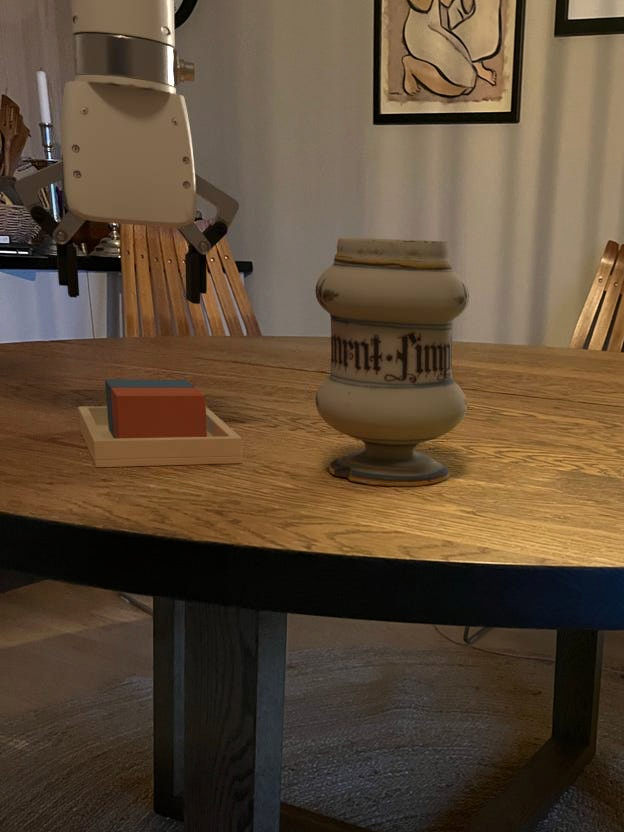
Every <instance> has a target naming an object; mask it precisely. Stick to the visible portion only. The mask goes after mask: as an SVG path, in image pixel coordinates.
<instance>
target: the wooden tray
mask: <svg viewBox="0 0 624 832" xmlns="http://www.w3.org/2000/svg"><path fill="white" fill-rule="evenodd" d="M77 410H78V423H79V431H80V434H81V435H82V437H83V438H82V439H83V441H84V442H85V445H86V448H87V450H88V452H89V454H90V457H91V459H92V462H93V465H94V466H95V468H122V467H123V468H125V467H126V468H127V467H158V466H159V467H161V466H198V465H200V466H201V465H233V464H236V465H237V464H243V438H242V437H241V436H240V435H239V434H237V433H236V432H235V431H234V430H233V429H232V428H231V427H229V425H227V423H225V422H224V421H223V420H222V419H221V418H220V417H218V415H216V414H215V413H214V412H213V411H212V410H211V409H210V408H209V407H208V406H206V425H207V437H172V438H116V439H114V438H113V436H112V434H111V432H110V431H109V427H108V413H107V405H102V406H101V405H100V406H97V405H96V406H95V405H94V406H93V405H92V406H89V405H88V406H83V405H82V406H81V405H80V406H78V407H77Z"/></svg>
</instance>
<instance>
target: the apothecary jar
mask: <svg viewBox="0 0 624 832" xmlns="http://www.w3.org/2000/svg"><path fill="white" fill-rule="evenodd" d="M333 258H334V259H333V264H331V266H329V267H328V268H327V269H325V270H324V271H323V272H322V273H321V275H320V276H319V277H318V279H317V281H316V285H315V298H316V300H317V302H318V304H319V305H320V307H321V308H322V309H323V310H324V311H326V312H327V313H328V314H329V316H330V373H329V376H328V377H327V378H326V379H325V380H324V381H322V383H320V385H319V387H318V389H317V391H316V394H315V407H316V410H317V412H318V414H319V416H320V418H322V420H323V421H324V422H325V423H326V424H327V425H328V426H329V427H331V428H332V429H334V430H336V431H337V432H339V433H341V434H343V435H346V436H348V437H351V438H354V439H356V440H359V441H361V442H363V444H364V449H361V450H360V449H359V450H356V451H353V452H349V453H348V454H346V455H343V456H339V457H338V458H334V460H333V461H331V463H329V465H328V471H329V474H331V475H332V476H334V477H341V478H346V479H347V480H348V481H349V482H352V483H356V484H363V485H370V486H379V487H380V486H381V487H399V488H400V487H404V488H405V487H422V486H429V485H435V484H439V483H441V482H444V481H445V480H448V478H449V477H450V475H451V474H450V473H451V472H450V469H449V468H448V467H447V466H446V465H445V464H443V463H441V462H439V461H438V460H436V459H434V458H432V457H431V456H430V455H428V454H426V453H423V452H418V451H416V447H417V446H418V445H419V444H420V443H425V442H429V441H433V440H435V439H438V438H440V437H442V436H444V435H446V434H448V433H449V432H451V431H452V430H454V429H455V428H456V427H457V426H458V425H459V424H460V423H461V422H462V421H463V419H464V418H465V417H466V413H467V409H468V402H467V398H466V395H465V393H464V391H463V390H462V388H461V387H460V385H458V384H457V382H456V381H455V380H454V379H453V328H454V327H453V325H454V321H455V319H456V318H458V317H460V316H461V315H462V314H463V313H464V312H465V311H466V309H467V308H468V305H469V301H470V292H469V288H468V286H467V284H466V282H465V281H464V280H463V278H462V277H461V276H460V275H458V273H456V272H455V271H454V270H453V267H452V263H451V260H450V245H449V242H448V241H443V240H421V239H420V240H418V239H394V238H393V239H392V238H373V237H372V238H368V237H339V238H338V239H337V244H336V254H335V255H334V257H333Z"/></svg>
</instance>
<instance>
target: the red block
mask: <svg viewBox="0 0 624 832" xmlns="http://www.w3.org/2000/svg"><path fill="white" fill-rule="evenodd" d="M111 399H112V413H113V427H114V439H116V438H172V437H207V425H206V407H207V402H206V401H207V400H206V395H205V394H204V393H203V392H202V391H200V390H199V388H197V387H195V388H120V387H112V388H111Z"/></svg>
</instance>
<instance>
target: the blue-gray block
mask: <svg viewBox="0 0 624 832" xmlns="http://www.w3.org/2000/svg"><path fill="white" fill-rule="evenodd" d="M104 384H105V385H104V386H105V399H106V406H107V413H108V427H109V431H110V432H111V434H112V436H113V438H114V427H113V413H112V399H111V388H112V387H120V388H196V387H195V385H194V384H192V383H191V382H190V381H189V380H187V379H116V378H115V379H113V378H112V379H110V378H109V379H105V380H104Z"/></svg>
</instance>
